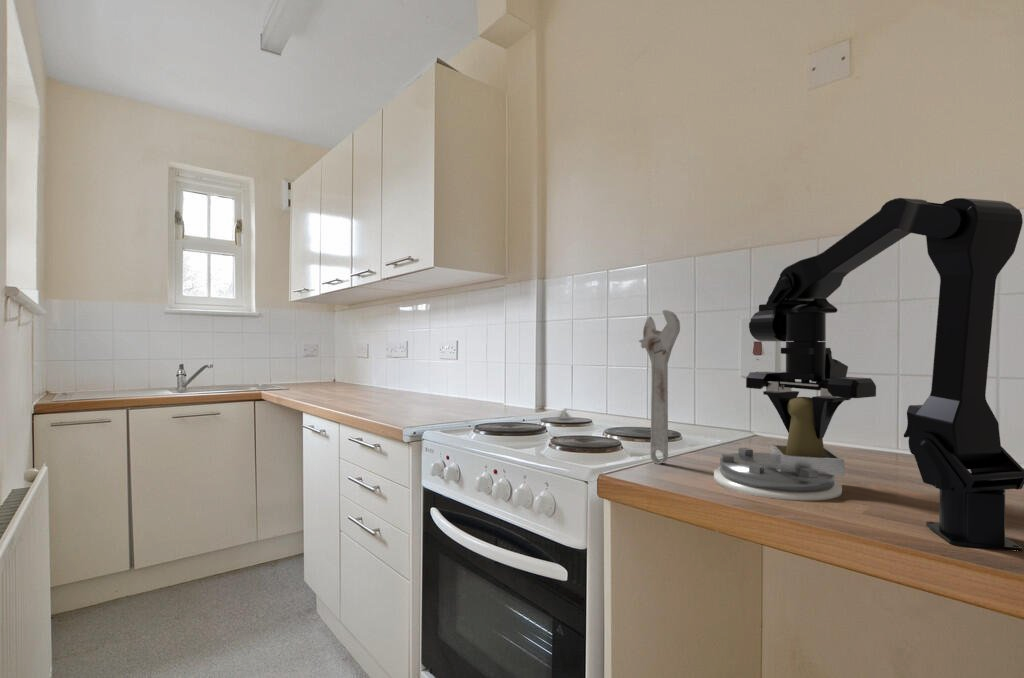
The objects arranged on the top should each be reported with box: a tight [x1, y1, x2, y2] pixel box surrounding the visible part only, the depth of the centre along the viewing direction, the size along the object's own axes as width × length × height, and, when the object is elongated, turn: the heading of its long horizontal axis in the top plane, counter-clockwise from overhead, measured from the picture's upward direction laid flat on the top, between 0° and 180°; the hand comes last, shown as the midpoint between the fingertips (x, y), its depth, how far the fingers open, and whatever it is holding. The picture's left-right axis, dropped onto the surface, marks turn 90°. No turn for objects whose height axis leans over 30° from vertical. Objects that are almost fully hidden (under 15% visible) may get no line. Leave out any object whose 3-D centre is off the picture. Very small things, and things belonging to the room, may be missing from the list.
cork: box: [786, 396, 825, 458], centre depth 83 cm, size 6×6×11 cm
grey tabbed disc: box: [719, 443, 845, 492], centre depth 84 cm, size 17×17×4 cm
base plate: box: [713, 466, 843, 501], centre depth 84 cm, size 19×19×1 cm
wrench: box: [638, 309, 681, 465], centre depth 98 cm, size 8×2×30 cm, turn 46°
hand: (805, 435), depth 83 cm, fingers closed on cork, 4 cm apart
